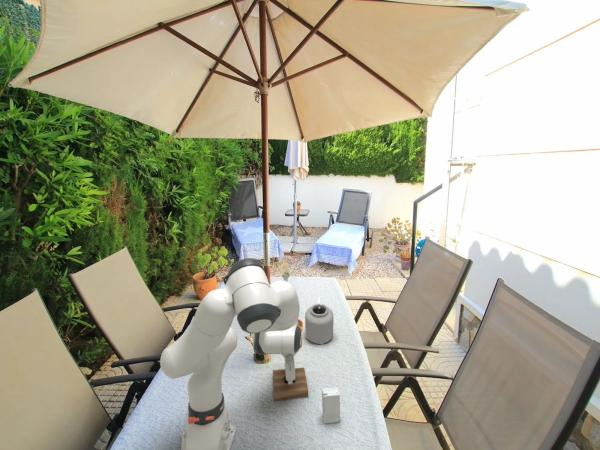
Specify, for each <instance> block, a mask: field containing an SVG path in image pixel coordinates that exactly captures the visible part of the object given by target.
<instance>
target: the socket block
mask: <svg viewBox="0 0 600 450" xmlns="http://www.w3.org/2000/svg"><path fill="white" fill-rule="evenodd" d="M306 375H307V374H306V370H305V367H295V380H293V383H292V384H288V383H287V384H286V374H285V368H284V369H273V370H272V391H273V392H272V393H273V401H280V400H281V401H282V400H283V401H284V400H293V399H294V400H295V399H305V398H309V388H308V381H307V376H306Z"/></svg>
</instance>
